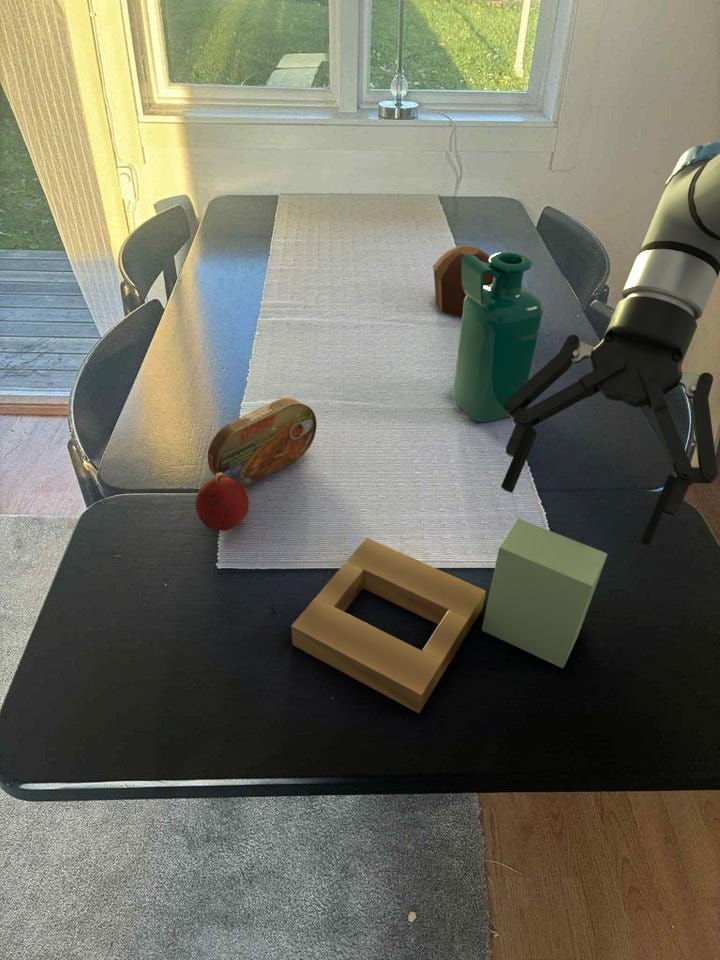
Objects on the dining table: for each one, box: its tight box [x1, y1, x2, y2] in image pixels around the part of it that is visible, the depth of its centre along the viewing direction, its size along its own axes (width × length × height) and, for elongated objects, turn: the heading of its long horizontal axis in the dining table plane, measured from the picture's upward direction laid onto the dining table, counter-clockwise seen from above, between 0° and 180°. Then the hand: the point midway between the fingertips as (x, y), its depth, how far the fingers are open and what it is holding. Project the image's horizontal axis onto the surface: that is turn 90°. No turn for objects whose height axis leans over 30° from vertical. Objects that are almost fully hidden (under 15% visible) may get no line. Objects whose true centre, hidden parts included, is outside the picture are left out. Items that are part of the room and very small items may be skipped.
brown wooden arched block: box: [432, 244, 493, 318], centre depth 121 cm, size 12×11×10 cm
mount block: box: [290, 537, 486, 714], centre depth 69 cm, size 14×14×3 cm
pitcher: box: [451, 251, 544, 423], centre depth 93 cm, size 10×8×22 cm
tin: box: [207, 397, 318, 489], centre depth 86 cm, size 15×3×8 cm, turn 132°
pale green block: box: [481, 518, 608, 669], centre depth 66 cm, size 4×8×12 cm, turn 59°
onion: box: [195, 472, 250, 532], centre depth 78 cm, size 6×6×8 cm
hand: (572, 516), depth 67 cm, fingers open, 13 cm apart
